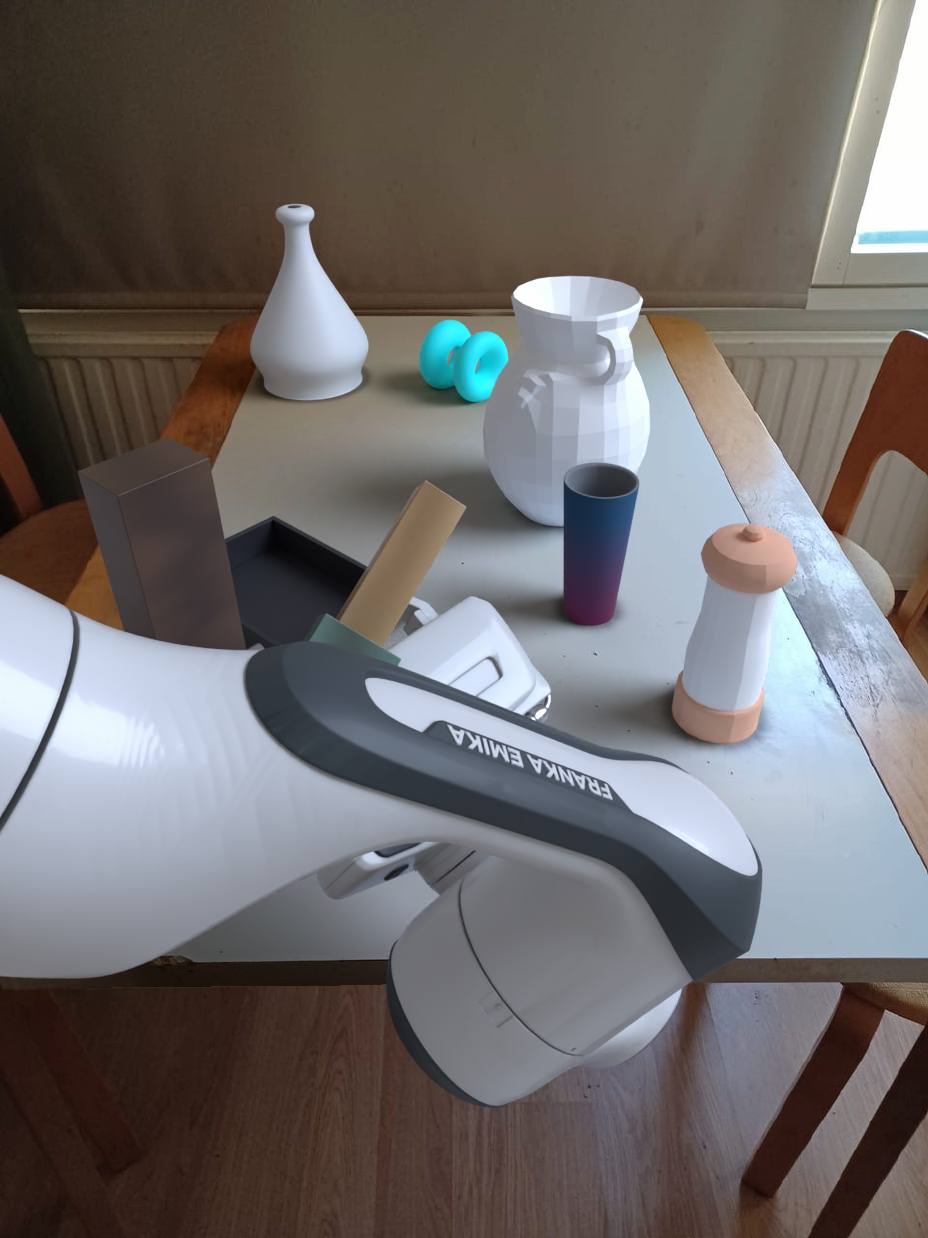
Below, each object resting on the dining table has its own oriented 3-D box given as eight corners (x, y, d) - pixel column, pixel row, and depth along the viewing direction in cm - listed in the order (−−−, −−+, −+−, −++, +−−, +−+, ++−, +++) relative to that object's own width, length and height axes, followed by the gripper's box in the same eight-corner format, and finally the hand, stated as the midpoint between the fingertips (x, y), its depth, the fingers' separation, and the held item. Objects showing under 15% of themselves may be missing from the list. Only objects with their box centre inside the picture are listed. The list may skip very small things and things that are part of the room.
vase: (237, 400, 133) (206, 218, 118) (281, 357, 146) (259, 189, 131) (350, 410, 130) (333, 225, 115) (384, 365, 143) (374, 194, 128)
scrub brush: (468, 522, 58) (489, 511, 53) (346, 727, 55) (356, 736, 51) (402, 478, 57) (417, 463, 52) (274, 686, 54) (278, 690, 50)
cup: (627, 634, 88) (644, 498, 79) (556, 633, 88) (566, 498, 79) (618, 593, 93) (634, 462, 84) (552, 593, 93) (560, 461, 84)
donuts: (463, 374, 140) (462, 310, 134) (511, 392, 134) (513, 326, 128) (416, 394, 134) (413, 327, 128) (464, 413, 129) (464, 344, 123)
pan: (294, 689, 82) (288, 655, 79) (168, 602, 93) (160, 569, 90) (406, 619, 90) (404, 586, 88) (278, 546, 101) (273, 515, 99)
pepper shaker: (687, 679, 83) (722, 494, 71) (767, 706, 80) (817, 517, 68) (658, 727, 78) (691, 536, 66) (742, 758, 75) (792, 564, 63)
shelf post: (193, 779, 73) (116, 495, 57) (158, 749, 76) (76, 470, 60) (262, 733, 77) (209, 457, 62) (227, 707, 80) (167, 436, 64)
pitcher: (672, 520, 105) (706, 302, 90) (541, 566, 97) (554, 337, 82) (576, 457, 118) (591, 257, 103) (453, 493, 110) (450, 283, 95)
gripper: (588, 684, 56) (445, 520, 58) (339, 889, 44) (171, 673, 46) (543, 724, 61) (413, 571, 63) (308, 919, 49) (158, 722, 51)
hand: (309, 615), depth 55 cm, fingers closed on scrub brush, 8 cm apart
